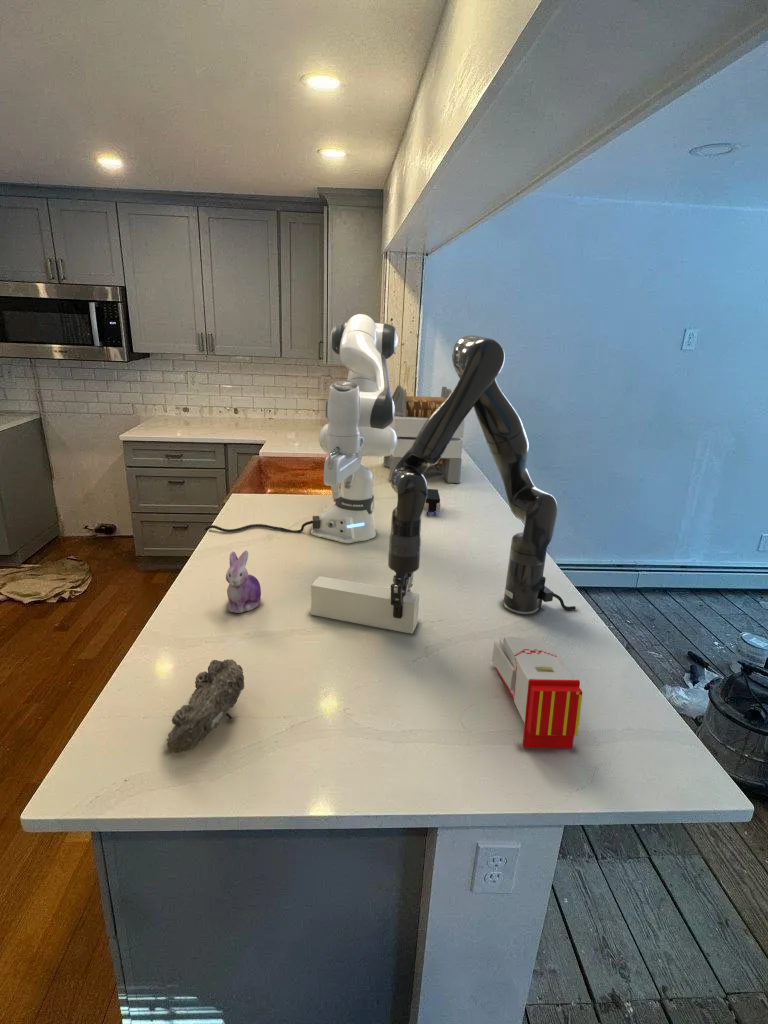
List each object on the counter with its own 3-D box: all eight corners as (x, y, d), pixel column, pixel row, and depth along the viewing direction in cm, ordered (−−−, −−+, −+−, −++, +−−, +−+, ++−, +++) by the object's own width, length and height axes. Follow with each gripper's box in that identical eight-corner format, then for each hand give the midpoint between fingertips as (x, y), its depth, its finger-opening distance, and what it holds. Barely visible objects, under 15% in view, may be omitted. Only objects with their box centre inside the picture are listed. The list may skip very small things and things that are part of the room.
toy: (540, 620, 128) (592, 687, 99) (535, 674, 131) (584, 755, 102) (487, 619, 128) (523, 686, 99) (483, 673, 131) (517, 754, 101)
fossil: (192, 660, 117) (244, 628, 112) (224, 691, 120) (276, 661, 115) (142, 746, 98) (202, 712, 93) (182, 779, 101) (242, 748, 96)
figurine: (230, 617, 142) (227, 563, 137) (221, 599, 150) (218, 547, 145) (267, 610, 146) (266, 557, 141) (256, 593, 154) (255, 542, 149)
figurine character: (440, 521, 217) (436, 504, 231) (442, 503, 214) (438, 487, 227) (423, 520, 217) (420, 503, 230) (424, 502, 214) (421, 486, 227)
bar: (311, 614, 145) (311, 585, 142) (319, 604, 150) (319, 575, 148) (412, 634, 139) (414, 603, 136) (417, 622, 144) (419, 593, 141)
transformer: (382, 463, 289) (386, 382, 275) (445, 464, 293) (451, 384, 279) (390, 482, 257) (394, 392, 243) (460, 483, 261) (468, 394, 247)
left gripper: (341, 453, 142) (340, 505, 147) (365, 437, 161) (364, 484, 165) (317, 451, 143) (317, 502, 148) (344, 435, 162) (344, 481, 167)
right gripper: (413, 563, 128) (408, 628, 133) (426, 540, 141) (421, 600, 147) (381, 558, 130) (378, 623, 135) (397, 536, 143) (393, 595, 148)
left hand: (342, 492), depth 157 cm, fingers open, 8 cm apart
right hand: (400, 611), depth 141 cm, fingers closed on bar, 5 cm apart
